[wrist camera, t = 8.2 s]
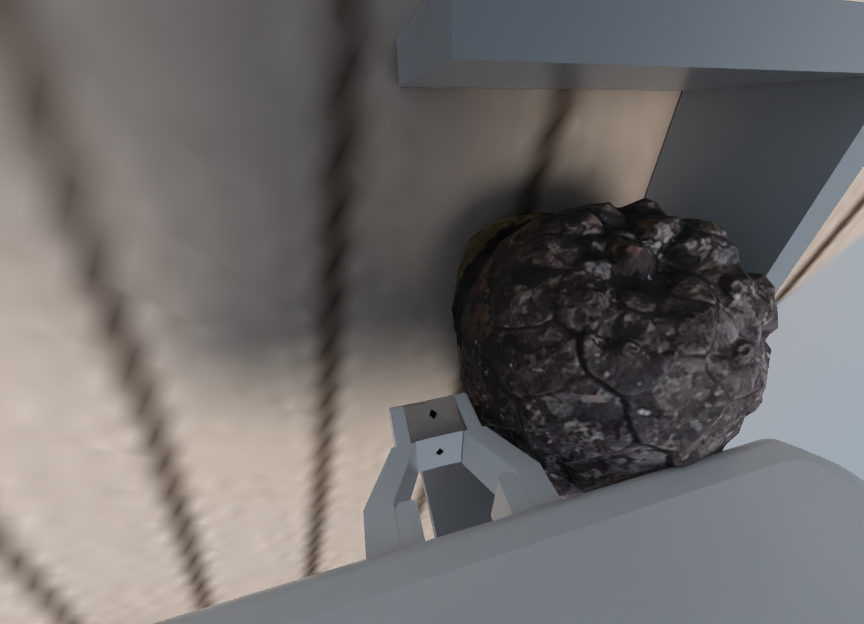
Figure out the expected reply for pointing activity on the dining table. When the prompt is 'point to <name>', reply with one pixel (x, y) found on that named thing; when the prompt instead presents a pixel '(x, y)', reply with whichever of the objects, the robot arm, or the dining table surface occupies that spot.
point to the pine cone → (611, 339)
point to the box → (675, 116)
